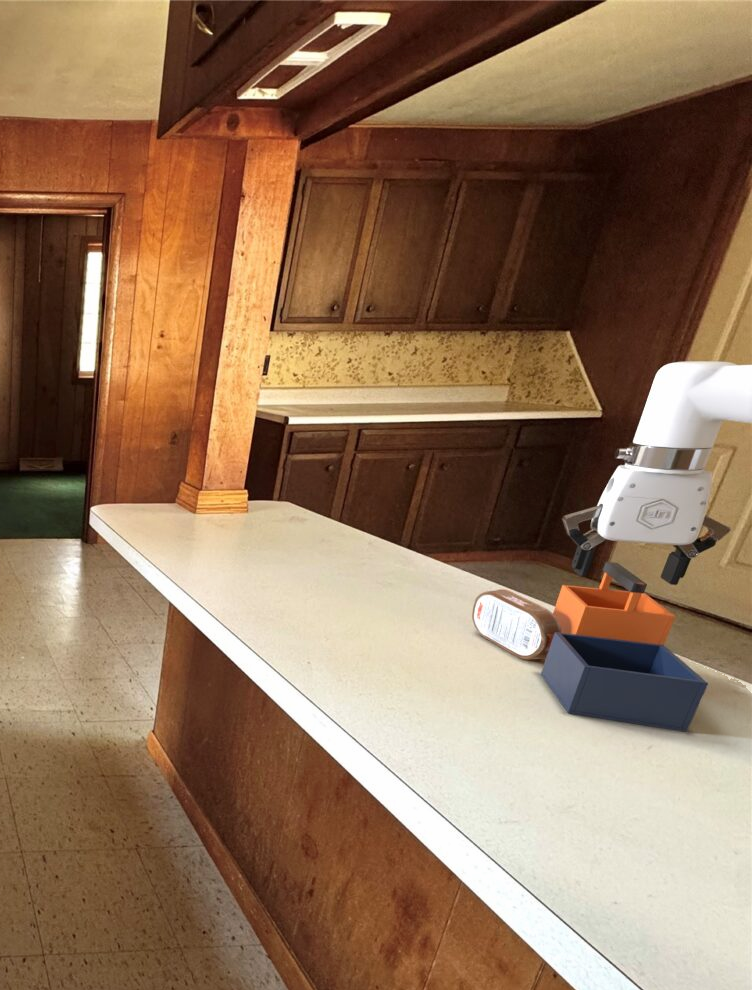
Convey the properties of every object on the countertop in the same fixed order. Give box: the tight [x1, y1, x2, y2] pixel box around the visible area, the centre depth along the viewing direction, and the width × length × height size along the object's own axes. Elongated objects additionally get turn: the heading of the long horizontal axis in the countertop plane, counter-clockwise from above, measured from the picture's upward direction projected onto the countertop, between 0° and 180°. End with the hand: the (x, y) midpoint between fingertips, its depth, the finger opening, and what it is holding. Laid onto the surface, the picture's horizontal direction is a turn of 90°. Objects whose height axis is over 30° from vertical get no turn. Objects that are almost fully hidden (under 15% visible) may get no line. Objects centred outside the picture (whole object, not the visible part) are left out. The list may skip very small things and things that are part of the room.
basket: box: [552, 561, 676, 646], centre depth 98 cm, size 10×10×15 cm
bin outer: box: [540, 632, 709, 733], centre depth 89 cm, size 12×12×7 cm
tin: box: [471, 588, 562, 661], centre depth 105 cm, size 15×3×8 cm, turn 179°
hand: (623, 577), depth 95 cm, fingers open, 9 cm apart
